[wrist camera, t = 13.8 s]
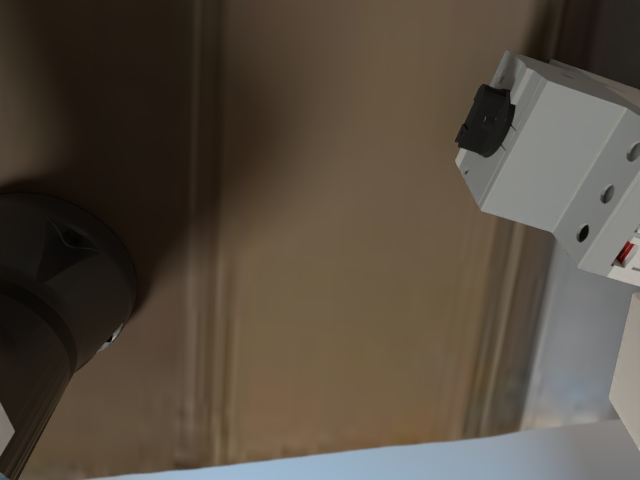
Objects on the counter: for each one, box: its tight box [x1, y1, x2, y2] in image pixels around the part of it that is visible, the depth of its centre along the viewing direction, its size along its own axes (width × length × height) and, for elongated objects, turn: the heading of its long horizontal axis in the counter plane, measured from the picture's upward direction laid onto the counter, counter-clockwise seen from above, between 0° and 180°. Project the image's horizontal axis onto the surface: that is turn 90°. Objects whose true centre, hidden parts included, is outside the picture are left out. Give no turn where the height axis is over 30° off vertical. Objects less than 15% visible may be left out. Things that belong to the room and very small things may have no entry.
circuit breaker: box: [455, 50, 640, 286], centre depth 34 cm, size 8×14×15 cm, turn 72°
